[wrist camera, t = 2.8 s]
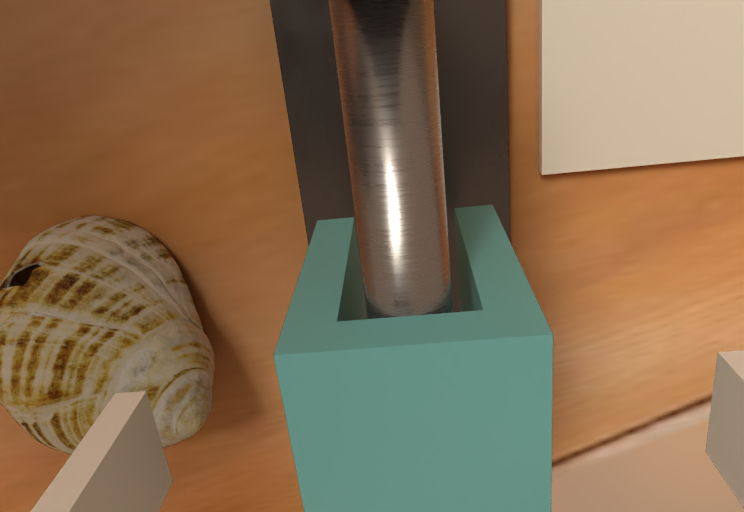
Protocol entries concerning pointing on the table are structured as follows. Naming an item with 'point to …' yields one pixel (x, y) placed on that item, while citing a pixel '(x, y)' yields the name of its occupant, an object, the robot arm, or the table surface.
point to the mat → (639, 82)
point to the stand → (398, 132)
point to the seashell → (100, 333)
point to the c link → (418, 384)
